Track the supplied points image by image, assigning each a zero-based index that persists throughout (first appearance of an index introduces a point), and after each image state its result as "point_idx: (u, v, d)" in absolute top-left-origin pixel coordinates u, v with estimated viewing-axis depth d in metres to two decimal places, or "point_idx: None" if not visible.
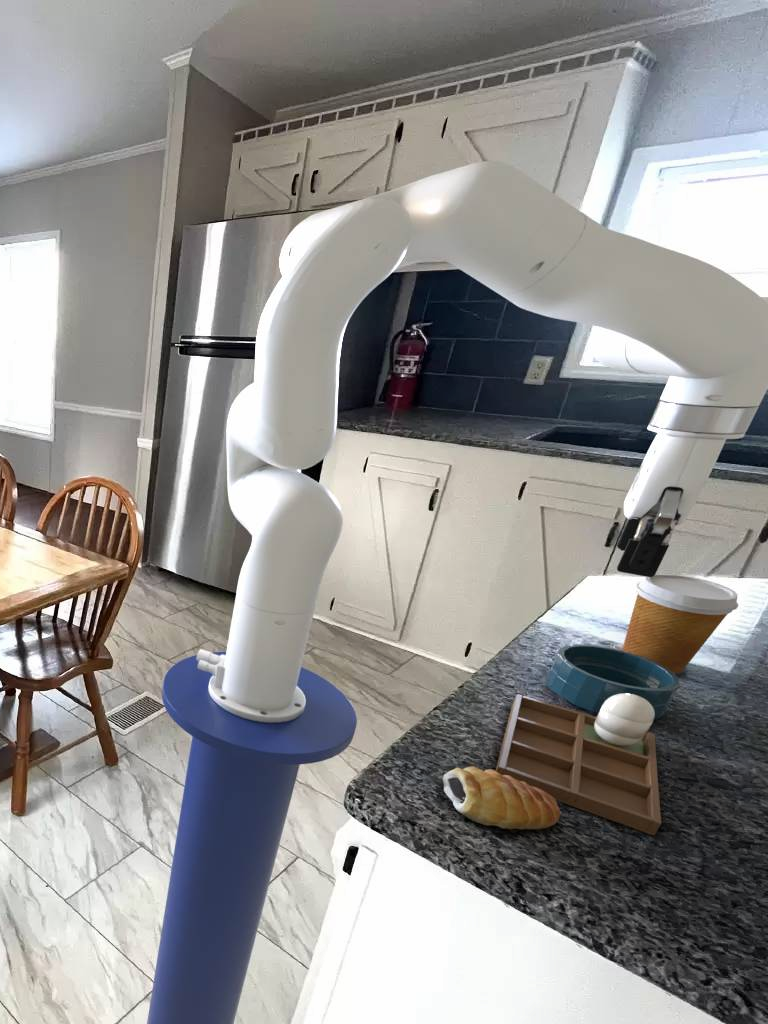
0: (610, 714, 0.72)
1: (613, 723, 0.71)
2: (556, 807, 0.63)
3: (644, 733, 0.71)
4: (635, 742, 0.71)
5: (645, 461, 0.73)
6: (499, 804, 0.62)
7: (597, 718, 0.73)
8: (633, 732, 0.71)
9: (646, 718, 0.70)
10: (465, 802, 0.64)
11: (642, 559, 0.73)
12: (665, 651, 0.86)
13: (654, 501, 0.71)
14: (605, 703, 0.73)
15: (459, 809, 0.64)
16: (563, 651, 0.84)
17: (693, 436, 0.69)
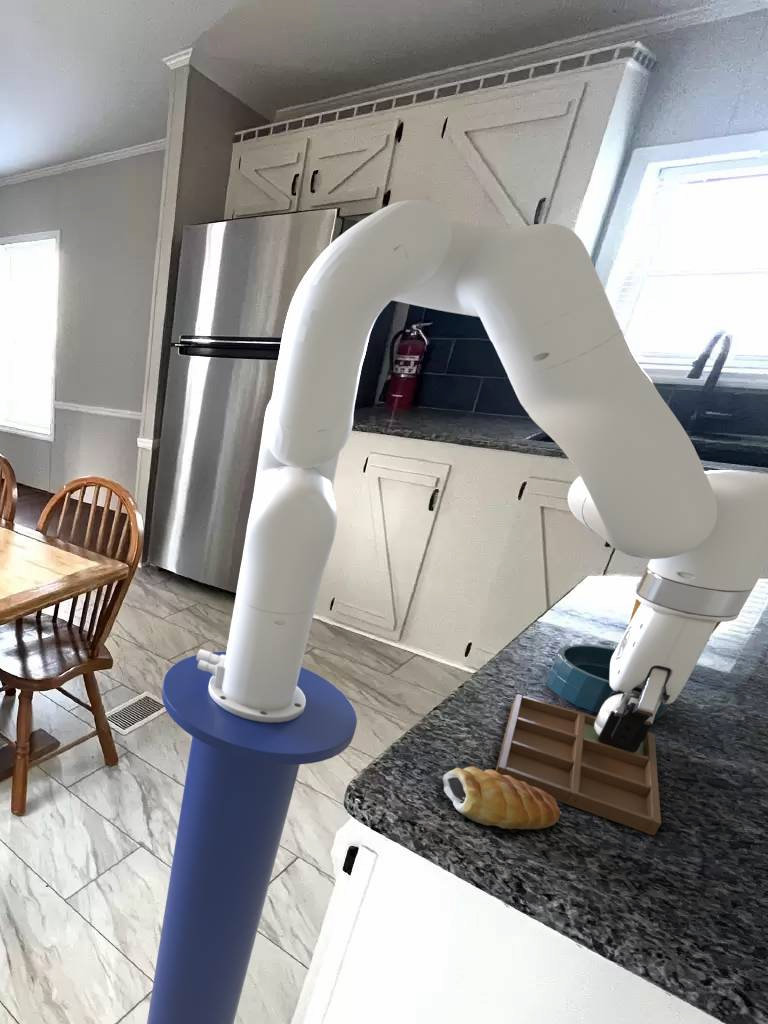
0: None
1: None
2: (556, 807, 0.63)
3: None
4: None
5: (632, 630, 0.68)
6: (499, 804, 0.62)
7: (597, 718, 0.73)
8: None
9: None
10: (465, 802, 0.64)
11: (624, 735, 0.70)
12: None
13: (641, 678, 0.66)
14: (605, 703, 0.73)
15: (459, 809, 0.64)
16: (563, 651, 0.84)
17: (682, 615, 0.64)
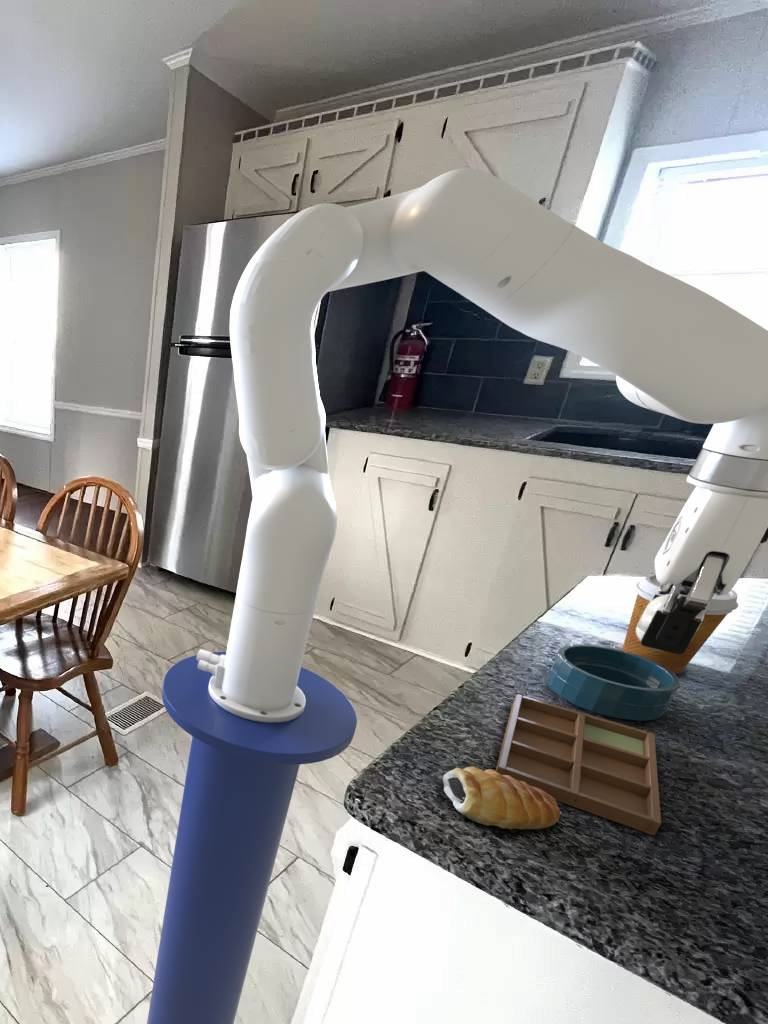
0: None
1: None
2: (556, 807, 0.63)
3: None
4: None
5: (683, 518, 0.63)
6: (499, 804, 0.62)
7: (640, 622, 0.68)
8: None
9: None
10: (465, 802, 0.64)
11: (670, 634, 0.65)
12: (665, 651, 0.86)
13: (694, 567, 0.61)
14: (649, 605, 0.67)
15: (459, 809, 0.64)
16: (563, 651, 0.84)
17: (743, 494, 0.58)
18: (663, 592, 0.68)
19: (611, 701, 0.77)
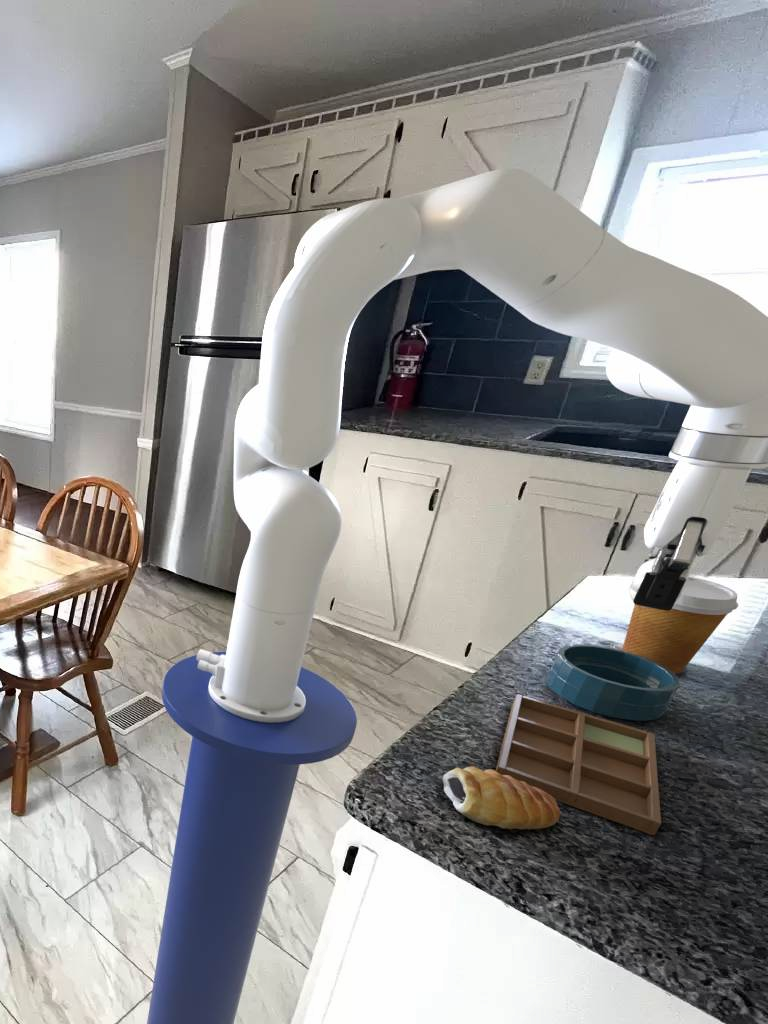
0: None
1: None
2: (556, 807, 0.63)
3: (679, 593, 0.74)
4: None
5: (667, 489, 0.71)
6: (499, 804, 0.62)
7: (632, 584, 0.76)
8: None
9: None
10: (465, 802, 0.64)
11: (659, 593, 0.73)
12: (665, 651, 0.86)
13: (677, 531, 0.69)
14: (640, 568, 0.76)
15: (459, 809, 0.64)
16: (563, 651, 0.84)
17: (717, 465, 0.67)
18: (652, 557, 0.77)
19: (611, 701, 0.77)
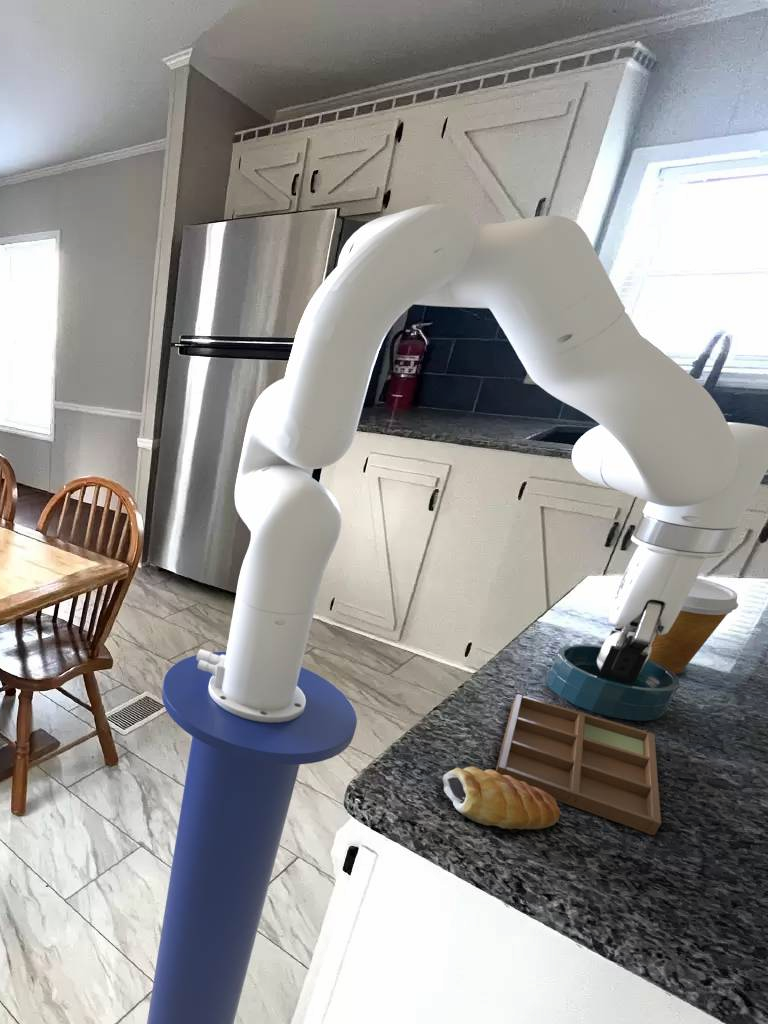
0: None
1: None
2: (556, 807, 0.63)
3: (642, 666, 0.78)
4: None
5: (629, 570, 0.76)
6: (499, 804, 0.62)
7: (599, 654, 0.81)
8: None
9: None
10: (465, 802, 0.64)
11: (623, 666, 0.77)
12: (665, 651, 0.86)
13: (638, 612, 0.74)
14: (606, 640, 0.80)
15: (459, 809, 0.64)
16: (563, 651, 0.84)
17: (674, 553, 0.71)
18: (618, 629, 0.81)
19: (611, 701, 0.77)
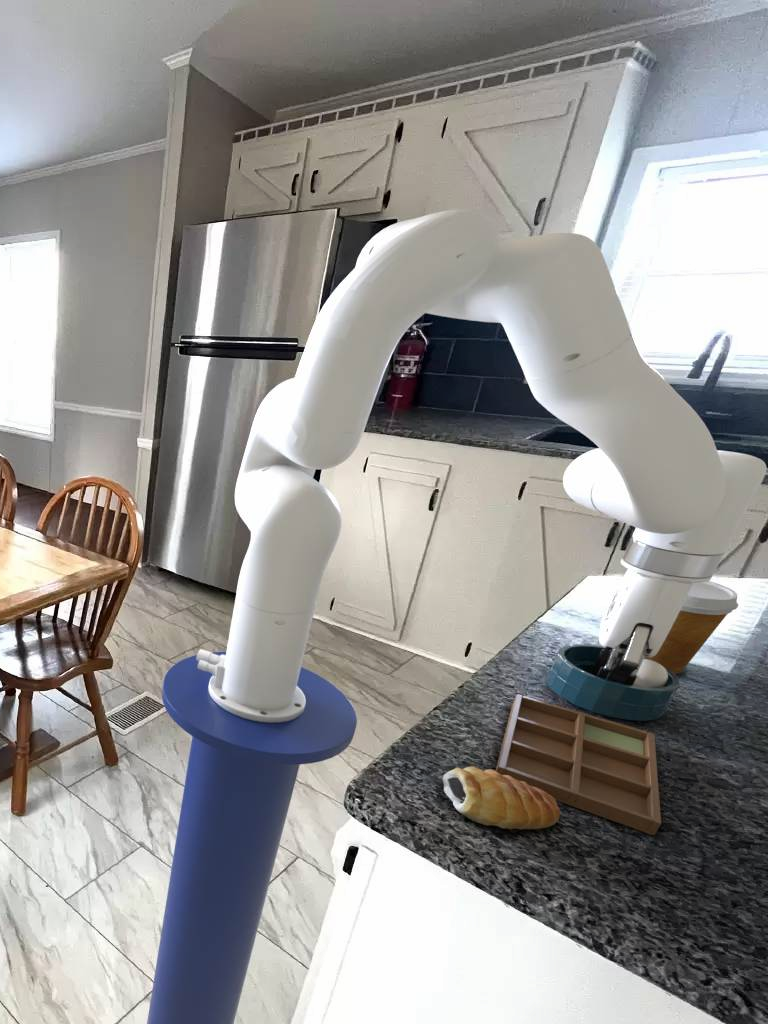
0: None
1: None
2: (556, 807, 0.63)
3: None
4: None
5: (619, 593, 0.77)
6: (499, 804, 0.62)
7: None
8: None
9: (658, 686, 0.77)
10: (465, 802, 0.64)
11: None
12: (665, 651, 0.86)
13: (626, 635, 0.75)
14: None
15: (459, 809, 0.64)
16: (563, 651, 0.84)
17: (662, 578, 0.72)
18: (608, 648, 0.82)
19: (611, 701, 0.77)
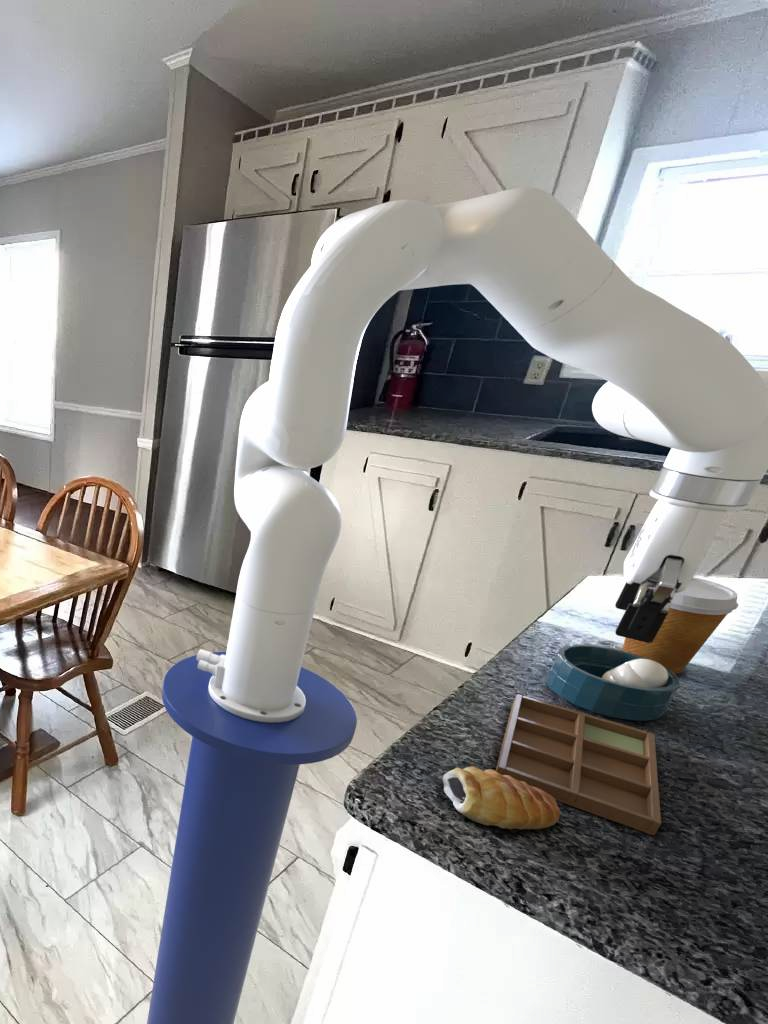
0: (632, 671, 0.78)
1: (628, 679, 0.79)
2: (556, 807, 0.63)
3: None
4: None
5: (646, 526, 0.73)
6: (499, 804, 0.62)
7: (614, 670, 0.80)
8: None
9: (659, 686, 0.77)
10: (465, 802, 0.64)
11: (641, 625, 0.73)
12: (665, 651, 0.86)
13: (654, 568, 0.71)
14: (633, 662, 0.79)
15: (459, 809, 0.64)
16: (563, 651, 0.84)
17: (695, 506, 0.69)
18: None
19: (611, 701, 0.77)
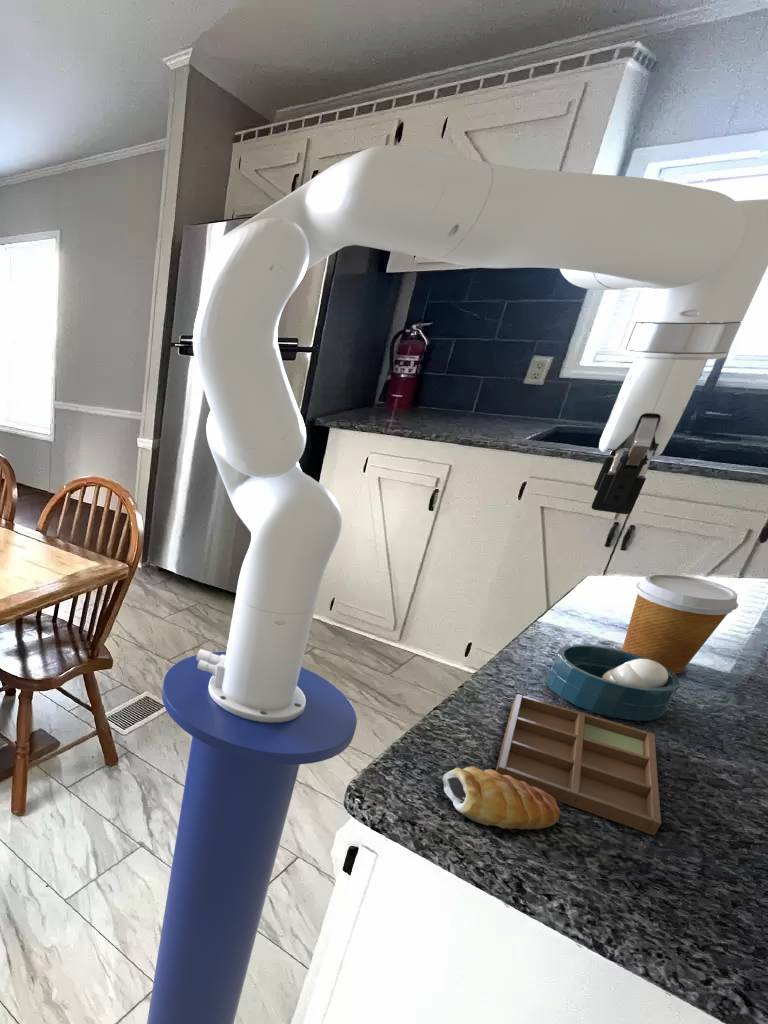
0: (632, 671, 0.78)
1: (628, 679, 0.79)
2: (556, 807, 0.63)
3: None
4: None
5: (621, 389, 0.68)
6: (499, 804, 0.62)
7: (614, 670, 0.80)
8: None
9: (659, 686, 0.77)
10: (465, 802, 0.64)
11: (617, 494, 0.68)
12: (665, 651, 0.86)
13: (630, 430, 0.66)
14: (633, 662, 0.79)
15: (459, 809, 0.64)
16: (563, 651, 0.84)
17: (671, 357, 0.64)
18: (612, 455, 0.75)
19: (611, 701, 0.77)
